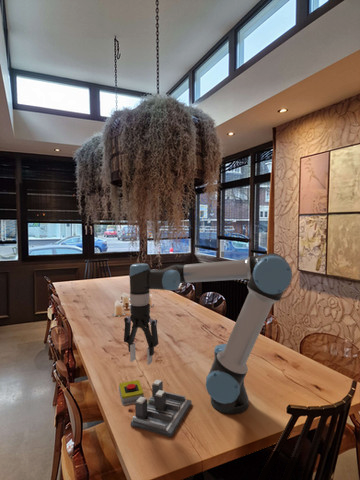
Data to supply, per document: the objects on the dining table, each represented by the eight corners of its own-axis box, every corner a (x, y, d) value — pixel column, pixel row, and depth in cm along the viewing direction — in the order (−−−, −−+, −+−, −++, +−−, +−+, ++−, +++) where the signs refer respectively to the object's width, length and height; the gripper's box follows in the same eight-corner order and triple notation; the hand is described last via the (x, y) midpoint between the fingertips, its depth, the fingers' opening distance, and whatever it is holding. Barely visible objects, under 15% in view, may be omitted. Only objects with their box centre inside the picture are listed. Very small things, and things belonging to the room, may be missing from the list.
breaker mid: (166, 407, 111) (165, 390, 111) (161, 413, 108) (161, 395, 107) (159, 405, 112) (158, 389, 112) (154, 411, 109) (154, 394, 108)
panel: (191, 404, 116) (191, 396, 116) (171, 437, 97) (171, 428, 97) (156, 395, 122) (156, 388, 122) (130, 425, 103) (130, 417, 103)
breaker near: (147, 415, 107) (147, 397, 106) (142, 421, 103) (142, 403, 103) (140, 413, 108) (140, 395, 108) (135, 419, 104) (135, 401, 104)
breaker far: (162, 396, 119) (162, 380, 118) (158, 400, 115) (158, 384, 115) (156, 394, 120) (156, 379, 120) (152, 399, 116) (152, 383, 116)
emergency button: (121, 396, 115) (118, 378, 129) (122, 407, 115) (118, 387, 130) (144, 391, 118) (138, 374, 132) (145, 402, 118) (138, 384, 132)
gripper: (167, 303, 111) (168, 361, 112) (123, 299, 119) (125, 354, 119) (158, 308, 104) (159, 370, 105) (113, 303, 112) (114, 361, 113)
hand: (141, 361), depth 112 cm, fingers open, 7 cm apart
